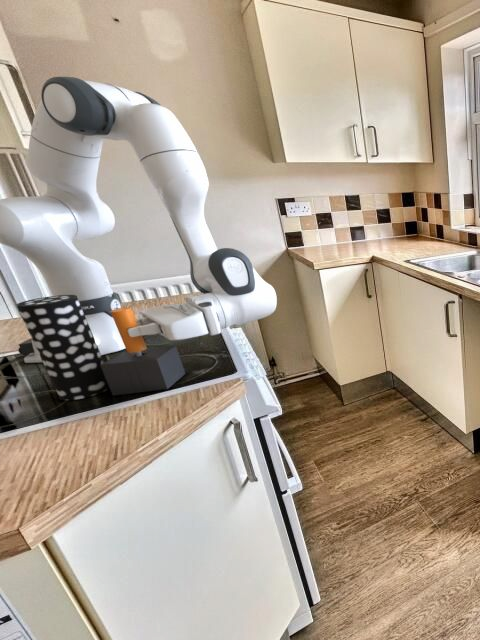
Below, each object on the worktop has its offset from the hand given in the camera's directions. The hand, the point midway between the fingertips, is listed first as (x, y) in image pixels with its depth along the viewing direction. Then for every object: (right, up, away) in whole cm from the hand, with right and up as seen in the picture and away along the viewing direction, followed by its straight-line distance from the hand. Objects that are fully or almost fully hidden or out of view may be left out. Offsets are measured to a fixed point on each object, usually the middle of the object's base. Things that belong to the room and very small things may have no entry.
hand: (125, 330), depth 87 cm
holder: (+1, -12, +5) cm, 13 cm away
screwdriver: (+1, -12, +5) cm, 13 cm away
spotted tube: (-11, -13, +3) cm, 17 cm away
